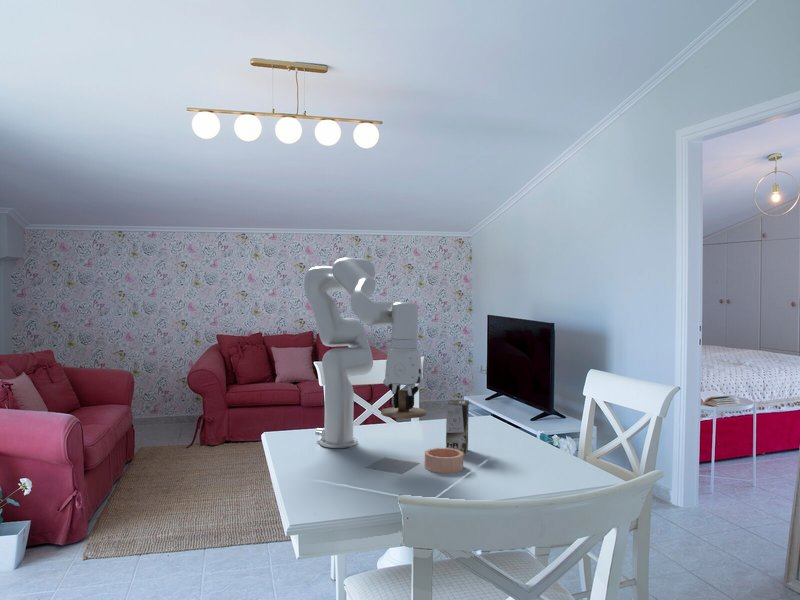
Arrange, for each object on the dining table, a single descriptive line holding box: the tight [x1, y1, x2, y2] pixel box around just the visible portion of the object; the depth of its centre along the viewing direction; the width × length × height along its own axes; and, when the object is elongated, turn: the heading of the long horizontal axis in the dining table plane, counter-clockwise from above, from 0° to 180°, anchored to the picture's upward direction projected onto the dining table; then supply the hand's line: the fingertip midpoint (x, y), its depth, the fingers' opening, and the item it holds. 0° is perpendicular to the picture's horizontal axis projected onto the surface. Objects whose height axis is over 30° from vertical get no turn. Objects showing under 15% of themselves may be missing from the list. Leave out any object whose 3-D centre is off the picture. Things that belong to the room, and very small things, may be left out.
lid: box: [380, 388, 427, 419], centre depth 182 cm, size 13×13×7 cm
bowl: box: [423, 447, 465, 474], centre depth 182 cm, size 11×11×4 cm
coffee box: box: [445, 399, 470, 457], centre depth 199 cm, size 9×6×16 cm
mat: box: [364, 457, 421, 475], centre depth 182 cm, size 12×12×1 cm
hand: (403, 407), depth 182 cm, fingers closed on lid, 3 cm apart
